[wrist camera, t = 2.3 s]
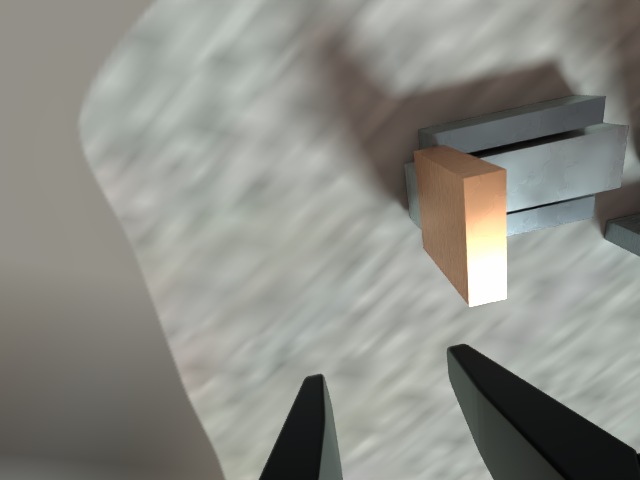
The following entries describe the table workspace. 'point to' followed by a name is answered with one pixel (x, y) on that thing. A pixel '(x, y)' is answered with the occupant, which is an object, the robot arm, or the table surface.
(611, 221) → the press fence
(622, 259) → the table surface
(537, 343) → the table surface
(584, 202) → the ram guide
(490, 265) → the brown boxy piece
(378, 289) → the table surface
